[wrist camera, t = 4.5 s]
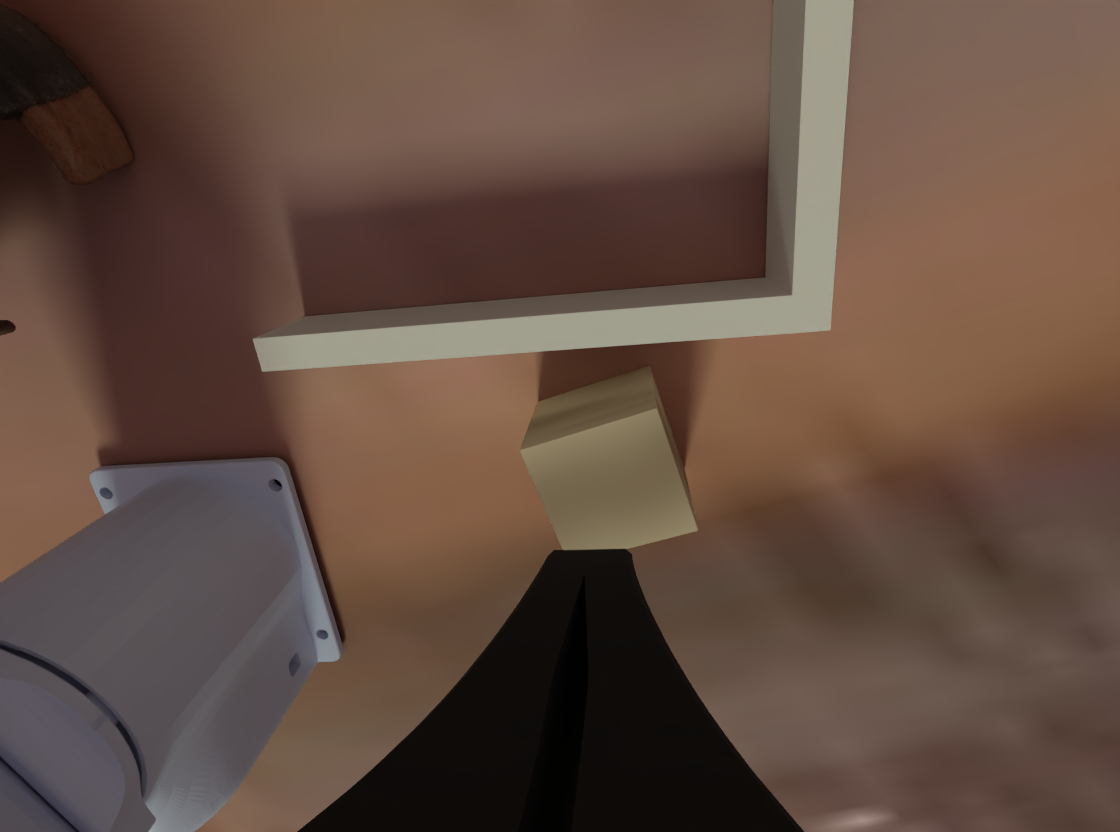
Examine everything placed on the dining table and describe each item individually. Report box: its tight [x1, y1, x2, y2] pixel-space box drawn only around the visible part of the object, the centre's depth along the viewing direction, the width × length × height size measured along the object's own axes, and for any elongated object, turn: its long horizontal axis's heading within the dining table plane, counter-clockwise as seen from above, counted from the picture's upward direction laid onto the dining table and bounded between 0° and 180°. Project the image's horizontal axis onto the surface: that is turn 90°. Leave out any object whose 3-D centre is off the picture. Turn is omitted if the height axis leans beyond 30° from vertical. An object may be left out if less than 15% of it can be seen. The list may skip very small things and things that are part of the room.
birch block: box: [520, 365, 698, 550], centre depth 18 cm, size 4×4×4 cm
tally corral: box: [253, 0, 854, 372], centre depth 15 cm, size 16×16×3 cm
